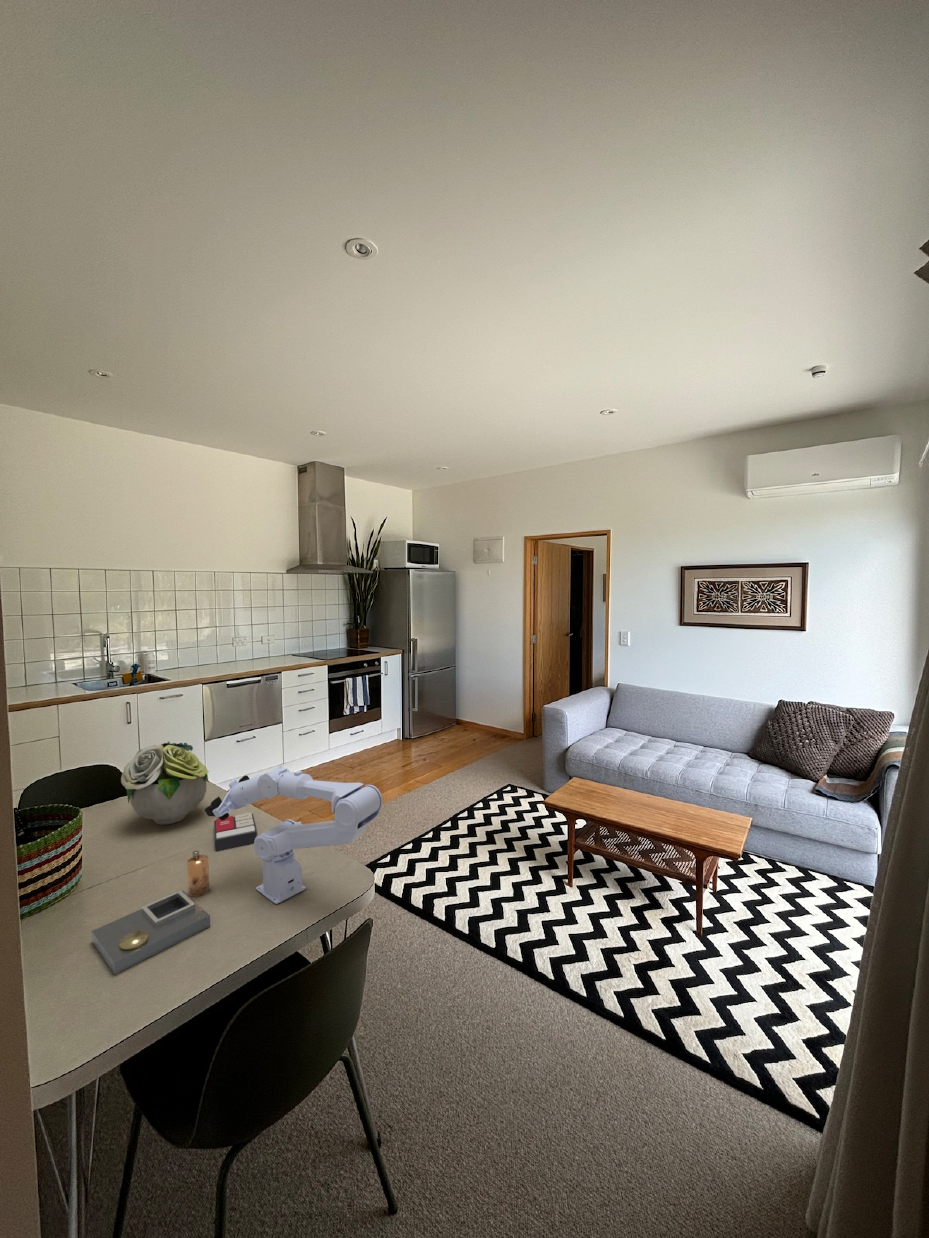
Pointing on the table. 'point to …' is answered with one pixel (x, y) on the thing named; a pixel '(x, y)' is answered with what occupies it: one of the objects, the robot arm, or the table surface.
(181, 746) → the flower arrangement
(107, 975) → the table surface
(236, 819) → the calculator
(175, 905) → the grey peg holder base
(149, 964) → the table surface
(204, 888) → the copper cylinder
